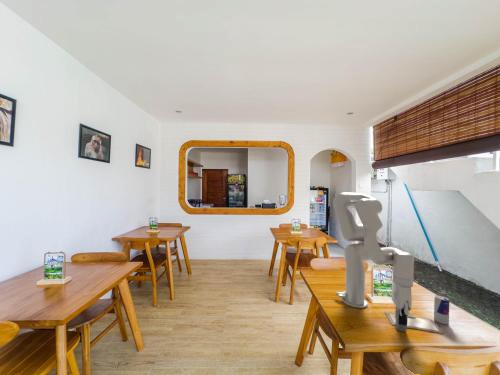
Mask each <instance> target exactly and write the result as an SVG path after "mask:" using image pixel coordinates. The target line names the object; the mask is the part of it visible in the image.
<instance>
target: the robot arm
mask: <svg viewBox="0 0 500 375" xmlns="http://www.w3.org/2000/svg"><path fill="white" fill-rule="evenodd" d="M332 205H333V206H332V207H333V211H334V214H335V215H336V219H337V221H338V225H339V228H340V231H341V234H342V238H343V240H344V241H347V242H357V243H350V244H348V245H347V246H345V248H344V257H345V290H344V291H342V292H340V291H335V295H336V296H337V297H338V298H341V301H342V302H343V304H345V305H347V306H349V307H352V308H355V309H365V308H367V307H368V304H369V303H368V301H367V300H366V299H365V295H366V294H365V293H366V291H365V290H366V268H365V266H364V264H363V262H368V261H372V263H374V264H375V265H379V266H382V265H392V268H393V269H392V283H393V284H392V291H391V301H392V302H393V304H394V306H395V308H396V307H397V308H398V309H400V315H399V319H398V323H399V324H400V325H406V326H407V318H408V315H409V314H410V311H411V310H412V305H413V304H412V303H413V302H412V299H413V298H412V295H413V294H412V288H413V287H414V274H415V273H414V271H415V270H414V269H415V256H414V255H413V253H410V252H407V251H402V250H400V249H398V248H395V247H393V246H387V247H386V246H385V247H380V244H379V243H378V239H377V233H378V231H379V230H380V229H382V228H383V222H382V220H381V218H380V216H379V214H381V212H382V211H383V204H382V203H381V201H380V200H378V199H377V198H374V197H372V196H369V195H366V194H363V193H360V192H340V193H338V194H336V195H335V197H334V198H333V201H332ZM349 208H354V209H355V211H356V213H357V216H358V218H359V220H360V222H361V223H357V222H356V220H355V217H354V215H353V213H352V212H351V211H350V210H349ZM403 307H404V308H403ZM402 310H404V311H402ZM395 318H396V315H395Z"/></svg>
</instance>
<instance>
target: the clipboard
mask: <svg viewBox="0 0 500 375" xmlns="http://www.w3.org/2000/svg"><path fill="white" fill-rule="evenodd" d="M384 314H385V316H386V318H387V319H388V321H389V324H390V325H391V326H394V327H395V322H396V318H395V315H396V313H393V312H386V311H385V312H384ZM406 329H412V330H419V331H421V332H422V331H424V332H429V333H435V334H441V335H445V332H444V331H443V330H442V329H441V328H440V327H439V325H438V324H436V323H435V322H434V319H431V318H423V317H419V316H417V317H416V316H415V315H414V314H410V313H409V315H408V318H407V327H406Z"/></svg>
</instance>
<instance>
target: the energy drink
mask: <svg viewBox="0 0 500 375" xmlns="http://www.w3.org/2000/svg"><path fill="white" fill-rule="evenodd" d="M433 303H434V304H433V307H434V308H433V321H434V322H435V324H436V325H437V326H440V327H445V328H446V327H449V325H450V299H449V298H448V297H446V296H443V295H438V294H437V295H435V296H434V302H433Z"/></svg>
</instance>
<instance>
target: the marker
mask: <svg viewBox="0 0 500 375" xmlns="http://www.w3.org/2000/svg"><path fill="white" fill-rule="evenodd" d="M403 308H404V307H403ZM402 311H404V310H402ZM395 314H396V322H395V326H394V327H395V328H396V330H397V331H398V332H404V333H406V332H407V328H406V327H407V326H406V325H400V324H399V323H398V319H399V315H400V309H398V308H397V307H396V306H395Z"/></svg>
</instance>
